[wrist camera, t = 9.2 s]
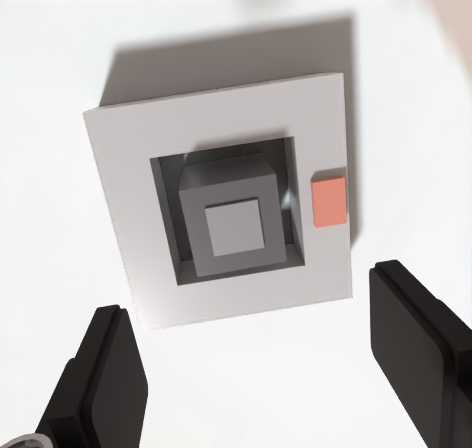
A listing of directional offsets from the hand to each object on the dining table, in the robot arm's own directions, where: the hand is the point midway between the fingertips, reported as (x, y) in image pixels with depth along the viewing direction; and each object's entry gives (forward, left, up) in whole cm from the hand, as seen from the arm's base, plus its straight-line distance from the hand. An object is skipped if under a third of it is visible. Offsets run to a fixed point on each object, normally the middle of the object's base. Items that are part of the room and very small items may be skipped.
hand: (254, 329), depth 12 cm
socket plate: (0, 0, -13) cm, 13 cm away
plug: (0, 0, -13) cm, 13 cm away
